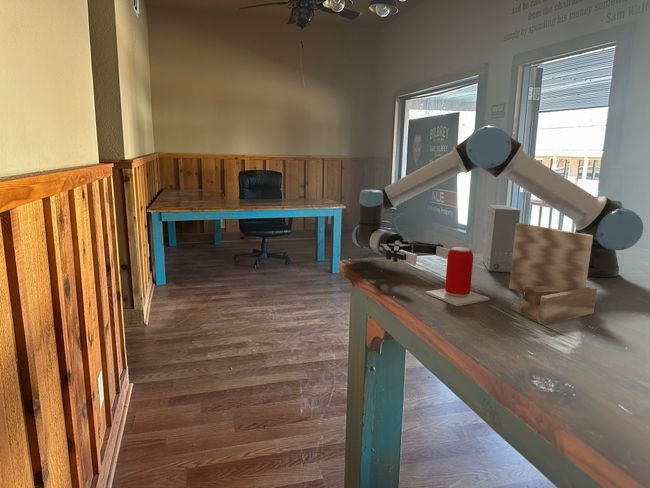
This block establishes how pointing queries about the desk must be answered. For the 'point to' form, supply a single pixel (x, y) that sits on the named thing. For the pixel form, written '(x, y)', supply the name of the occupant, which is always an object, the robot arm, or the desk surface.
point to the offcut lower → (529, 309)
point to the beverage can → (459, 271)
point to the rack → (554, 270)
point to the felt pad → (455, 300)
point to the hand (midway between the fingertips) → (435, 257)
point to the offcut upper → (538, 293)
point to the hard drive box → (500, 237)
